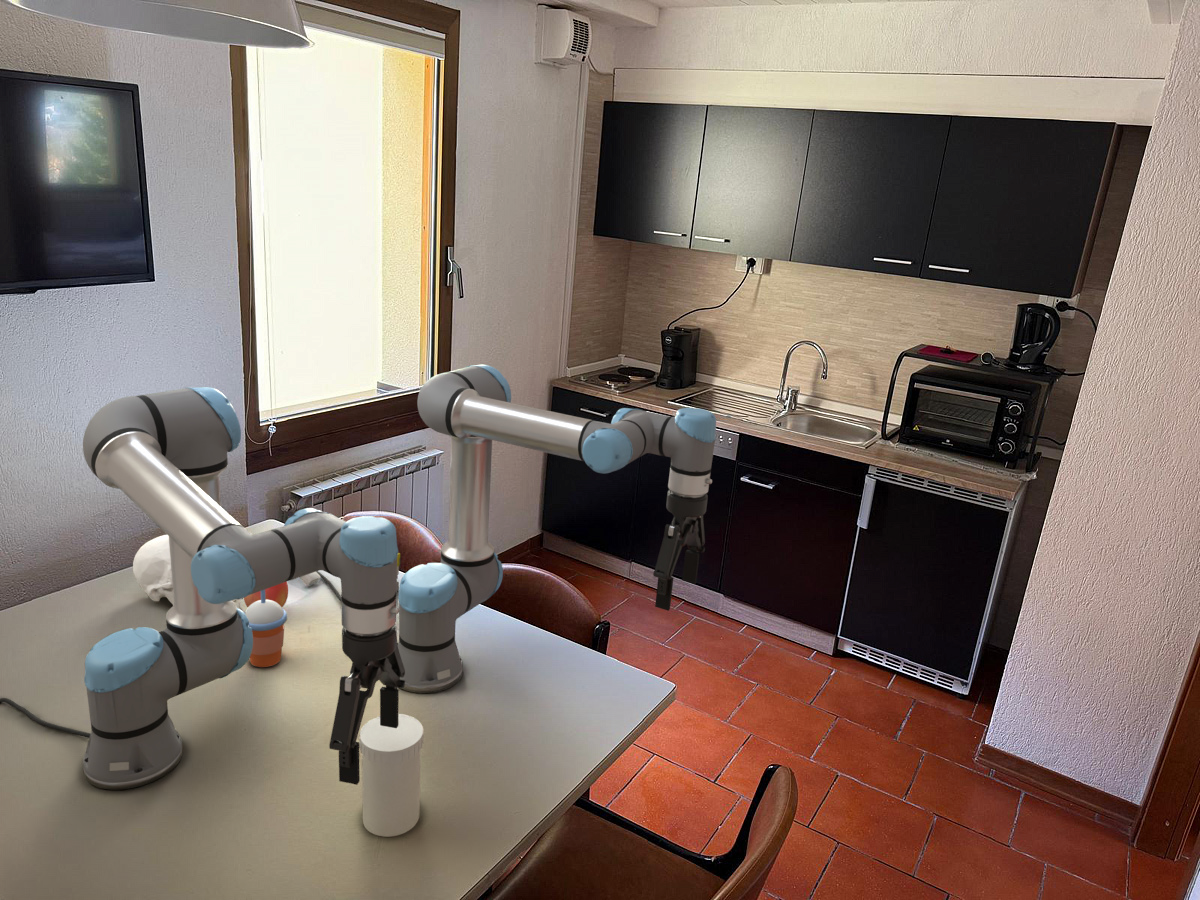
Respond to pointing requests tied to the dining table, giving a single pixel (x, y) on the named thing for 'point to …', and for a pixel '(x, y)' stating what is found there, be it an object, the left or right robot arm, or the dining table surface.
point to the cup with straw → (266, 631)
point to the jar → (391, 796)
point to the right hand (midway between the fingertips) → (676, 594)
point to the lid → (391, 740)
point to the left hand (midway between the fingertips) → (370, 752)
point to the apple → (270, 595)
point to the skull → (155, 569)
